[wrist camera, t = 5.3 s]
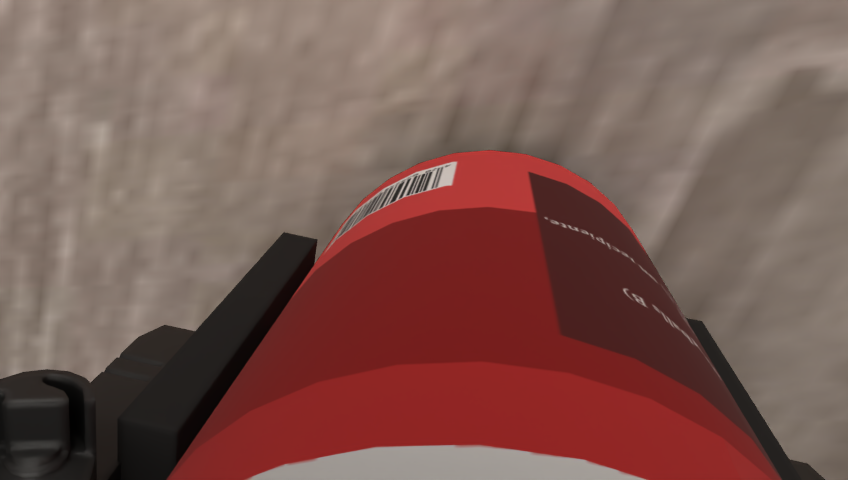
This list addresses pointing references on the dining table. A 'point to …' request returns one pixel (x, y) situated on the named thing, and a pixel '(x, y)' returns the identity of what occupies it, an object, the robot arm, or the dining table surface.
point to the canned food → (480, 347)
